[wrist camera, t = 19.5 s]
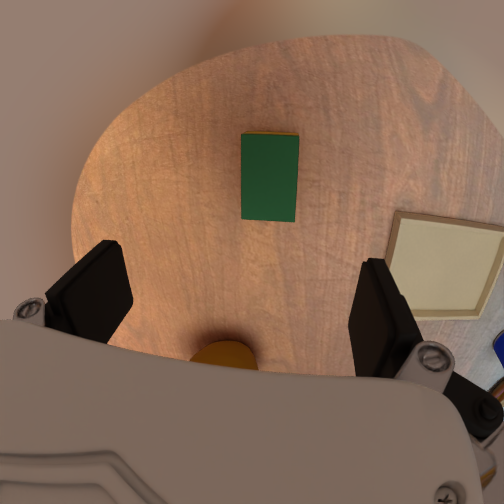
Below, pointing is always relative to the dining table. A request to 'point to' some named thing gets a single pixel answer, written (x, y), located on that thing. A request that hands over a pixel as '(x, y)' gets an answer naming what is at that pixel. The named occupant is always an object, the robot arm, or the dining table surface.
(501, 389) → the toy sandwich meal
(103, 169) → the dining table surface
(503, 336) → the beverage can
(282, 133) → the sponge
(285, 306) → the dining table surface
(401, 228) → the tray
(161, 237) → the dining table surface
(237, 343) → the apple
